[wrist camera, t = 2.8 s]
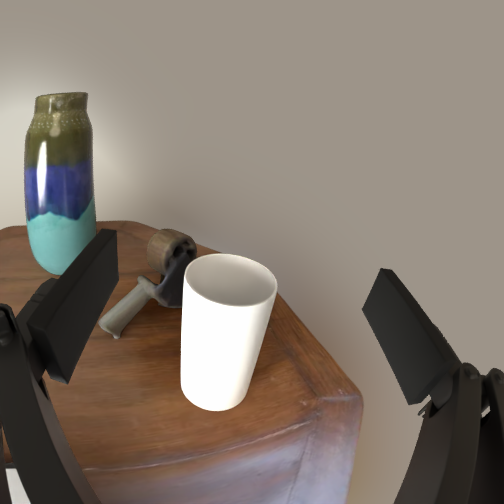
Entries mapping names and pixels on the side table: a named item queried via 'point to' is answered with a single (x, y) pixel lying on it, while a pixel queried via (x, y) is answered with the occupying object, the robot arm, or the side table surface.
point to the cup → (223, 327)
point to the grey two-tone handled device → (166, 293)
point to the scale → (15, 485)
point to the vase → (59, 180)
